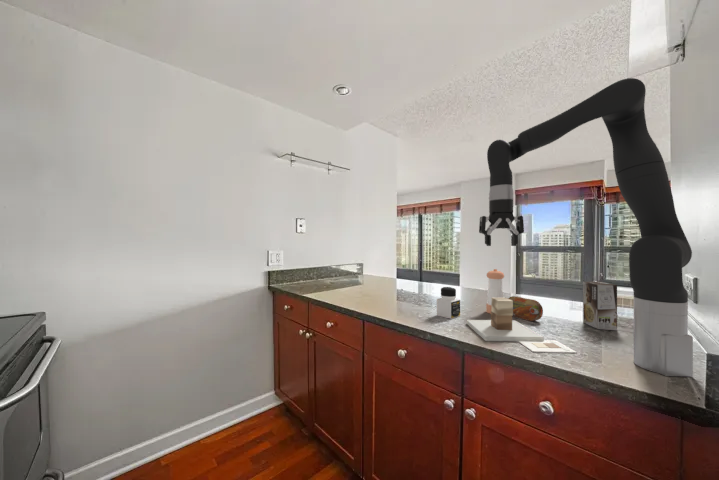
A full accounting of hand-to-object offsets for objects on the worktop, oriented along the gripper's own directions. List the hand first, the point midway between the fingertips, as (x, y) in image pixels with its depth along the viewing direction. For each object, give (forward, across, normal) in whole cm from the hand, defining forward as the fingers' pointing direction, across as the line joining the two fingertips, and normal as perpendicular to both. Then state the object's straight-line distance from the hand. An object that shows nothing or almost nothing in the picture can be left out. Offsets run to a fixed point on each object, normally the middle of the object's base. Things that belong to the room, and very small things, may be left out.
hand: (501, 245), depth 97 cm
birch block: (+24, 0, 0) cm, 24 cm away
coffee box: (+30, +39, +8) cm, 50 cm away
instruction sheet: (+30, +7, -13) cm, 33 cm away
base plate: (+30, 0, 0) cm, 30 cm away
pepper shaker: (+30, +9, +26) cm, 41 cm away
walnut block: (+28, 0, 0) cm, 29 cm away
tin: (+30, +17, +18) cm, 39 cm away
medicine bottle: (+30, -13, +20) cm, 38 cm away
